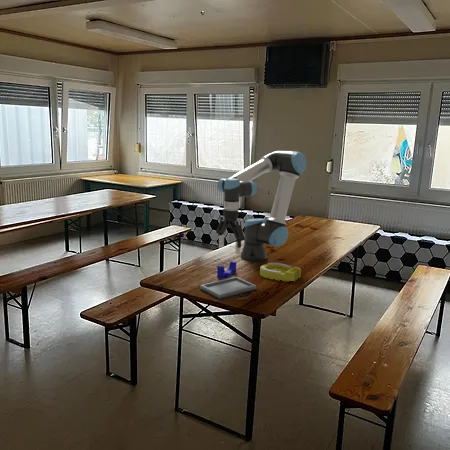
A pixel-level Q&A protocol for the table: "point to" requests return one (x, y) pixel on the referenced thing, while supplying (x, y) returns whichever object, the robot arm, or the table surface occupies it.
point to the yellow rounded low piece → (280, 272)
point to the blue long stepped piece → (228, 272)
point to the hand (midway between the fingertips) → (229, 250)
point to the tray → (227, 287)
